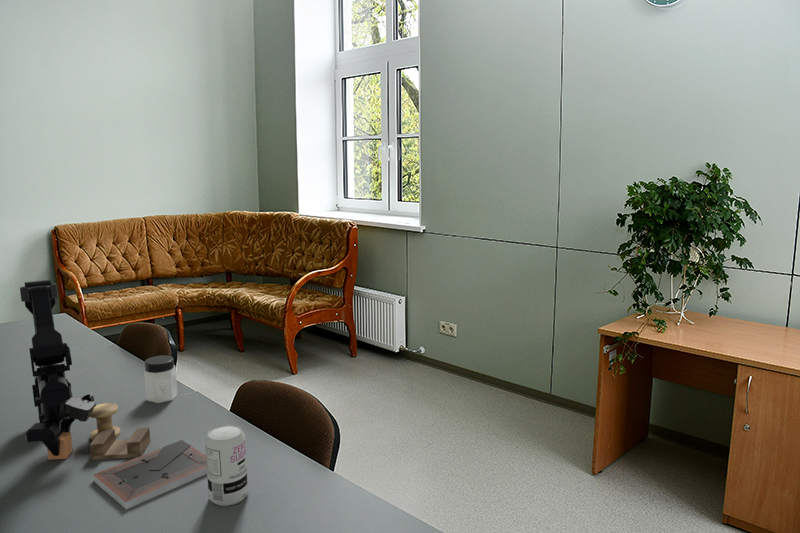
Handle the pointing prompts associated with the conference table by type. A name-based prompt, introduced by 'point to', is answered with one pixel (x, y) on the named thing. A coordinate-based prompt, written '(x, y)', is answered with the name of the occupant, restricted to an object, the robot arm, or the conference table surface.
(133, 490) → the picture frame
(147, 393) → the jar
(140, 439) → the notch board
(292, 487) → the conference table surface
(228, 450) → the supplement can
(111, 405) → the spool
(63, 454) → the light brown wooden block
